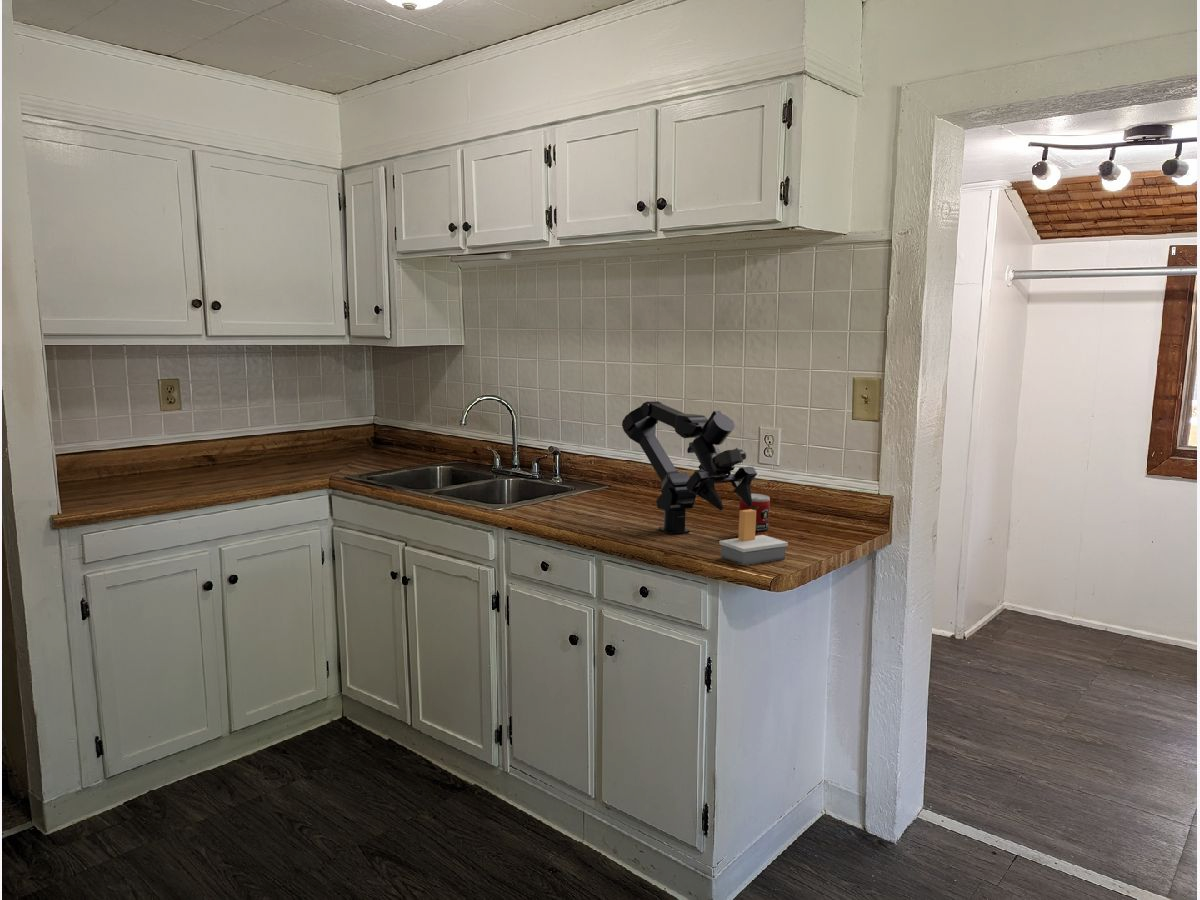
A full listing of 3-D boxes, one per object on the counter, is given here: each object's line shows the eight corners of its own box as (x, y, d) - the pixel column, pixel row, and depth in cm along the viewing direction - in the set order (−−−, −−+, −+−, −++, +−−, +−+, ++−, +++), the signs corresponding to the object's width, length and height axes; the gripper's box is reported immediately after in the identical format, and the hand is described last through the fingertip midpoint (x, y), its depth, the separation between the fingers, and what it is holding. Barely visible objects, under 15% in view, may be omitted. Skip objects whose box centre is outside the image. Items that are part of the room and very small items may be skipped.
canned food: (753, 542, 219) (755, 500, 218) (731, 536, 226) (733, 495, 224) (774, 538, 224) (776, 497, 222) (752, 532, 230) (754, 492, 229)
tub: (720, 557, 203) (721, 545, 203) (761, 551, 210) (762, 539, 210) (743, 565, 197) (744, 553, 196) (784, 559, 204) (785, 546, 203)
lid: (719, 544, 203) (720, 511, 202) (762, 537, 210) (764, 506, 209) (743, 552, 196) (745, 518, 195) (787, 545, 203) (789, 513, 202)
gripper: (695, 438, 205) (723, 491, 197) (753, 434, 215) (782, 485, 207) (674, 466, 212) (700, 518, 205) (731, 461, 222) (758, 511, 215)
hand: (736, 507), depth 207 cm, fingers open, 9 cm apart
